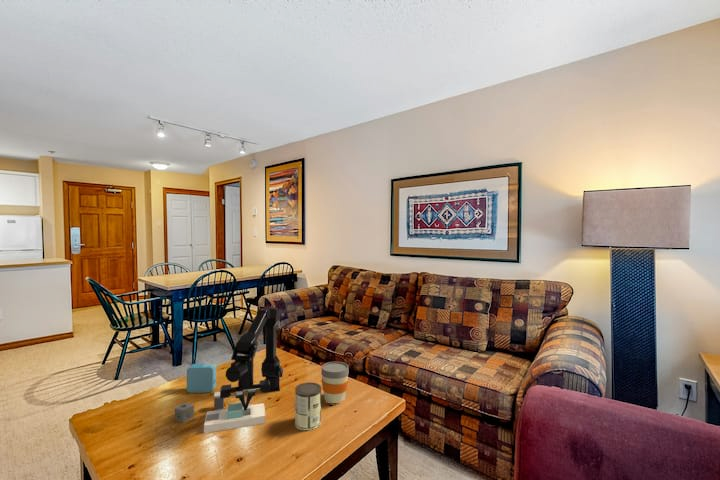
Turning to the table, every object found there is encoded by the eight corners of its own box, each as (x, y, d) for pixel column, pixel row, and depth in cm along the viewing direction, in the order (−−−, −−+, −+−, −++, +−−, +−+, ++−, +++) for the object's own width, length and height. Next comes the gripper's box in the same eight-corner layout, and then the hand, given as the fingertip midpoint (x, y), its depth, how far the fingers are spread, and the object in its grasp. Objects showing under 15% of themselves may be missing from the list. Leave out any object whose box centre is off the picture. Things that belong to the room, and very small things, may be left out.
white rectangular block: (224, 405, 142) (224, 391, 142) (223, 410, 139) (223, 395, 139) (214, 407, 141) (214, 392, 141) (213, 411, 137) (213, 396, 137)
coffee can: (302, 414, 137) (303, 380, 137) (325, 418, 134) (325, 384, 133) (289, 427, 127) (290, 391, 127) (313, 433, 124) (314, 396, 124)
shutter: (242, 408, 135) (242, 402, 135) (242, 417, 128) (242, 410, 128) (228, 410, 133) (228, 404, 133) (227, 419, 127) (227, 412, 126)
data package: (216, 388, 158) (216, 363, 158) (212, 392, 154) (212, 367, 154) (190, 388, 158) (191, 363, 158) (186, 392, 153) (186, 367, 153)
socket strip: (263, 410, 139) (263, 402, 139) (265, 423, 130) (265, 414, 130) (206, 419, 132) (207, 410, 132) (204, 433, 123) (204, 424, 122)
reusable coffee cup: (315, 403, 146) (316, 369, 146) (328, 390, 158) (329, 359, 157) (341, 409, 141) (341, 374, 141) (352, 396, 153) (353, 364, 153)
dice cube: (185, 414, 136) (186, 402, 136) (194, 417, 133) (194, 404, 133) (174, 420, 131) (174, 407, 131) (182, 423, 129) (182, 410, 129)
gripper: (268, 361, 142) (268, 396, 143) (221, 366, 136) (221, 403, 136) (270, 371, 132) (270, 409, 132) (220, 377, 126) (219, 417, 126)
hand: (245, 409), depth 132 cm, fingers closed
